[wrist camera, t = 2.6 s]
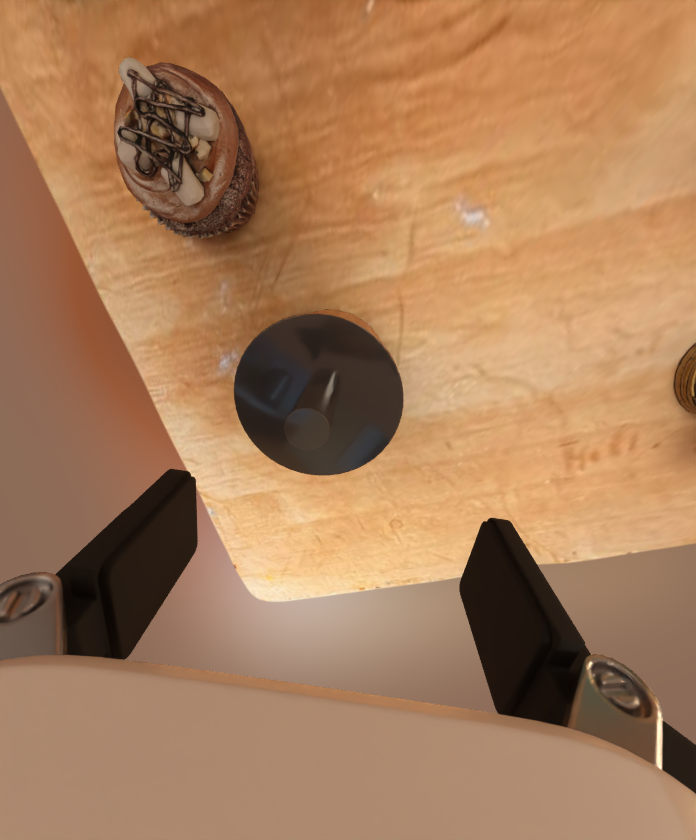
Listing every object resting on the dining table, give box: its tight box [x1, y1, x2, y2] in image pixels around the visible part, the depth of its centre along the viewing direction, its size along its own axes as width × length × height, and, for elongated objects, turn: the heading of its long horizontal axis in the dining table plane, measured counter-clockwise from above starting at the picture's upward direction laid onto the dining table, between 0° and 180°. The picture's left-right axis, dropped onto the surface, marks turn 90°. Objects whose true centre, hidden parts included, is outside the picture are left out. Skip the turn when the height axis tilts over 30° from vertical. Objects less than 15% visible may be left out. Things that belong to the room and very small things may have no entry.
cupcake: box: [114, 57, 259, 239], centre depth 24 cm, size 10×10×10 cm
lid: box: [234, 313, 403, 475], centre depth 23 cm, size 13×13×6 cm
